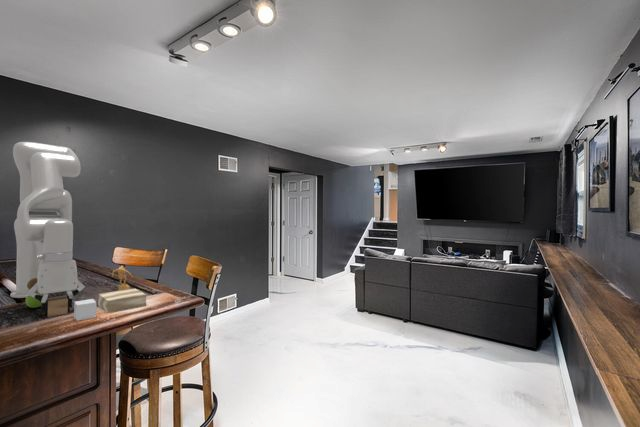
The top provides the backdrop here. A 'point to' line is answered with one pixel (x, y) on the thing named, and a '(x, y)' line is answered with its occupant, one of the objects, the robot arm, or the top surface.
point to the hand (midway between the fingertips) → (56, 311)
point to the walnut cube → (57, 306)
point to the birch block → (121, 300)
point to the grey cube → (84, 309)
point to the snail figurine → (31, 300)
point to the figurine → (121, 271)
